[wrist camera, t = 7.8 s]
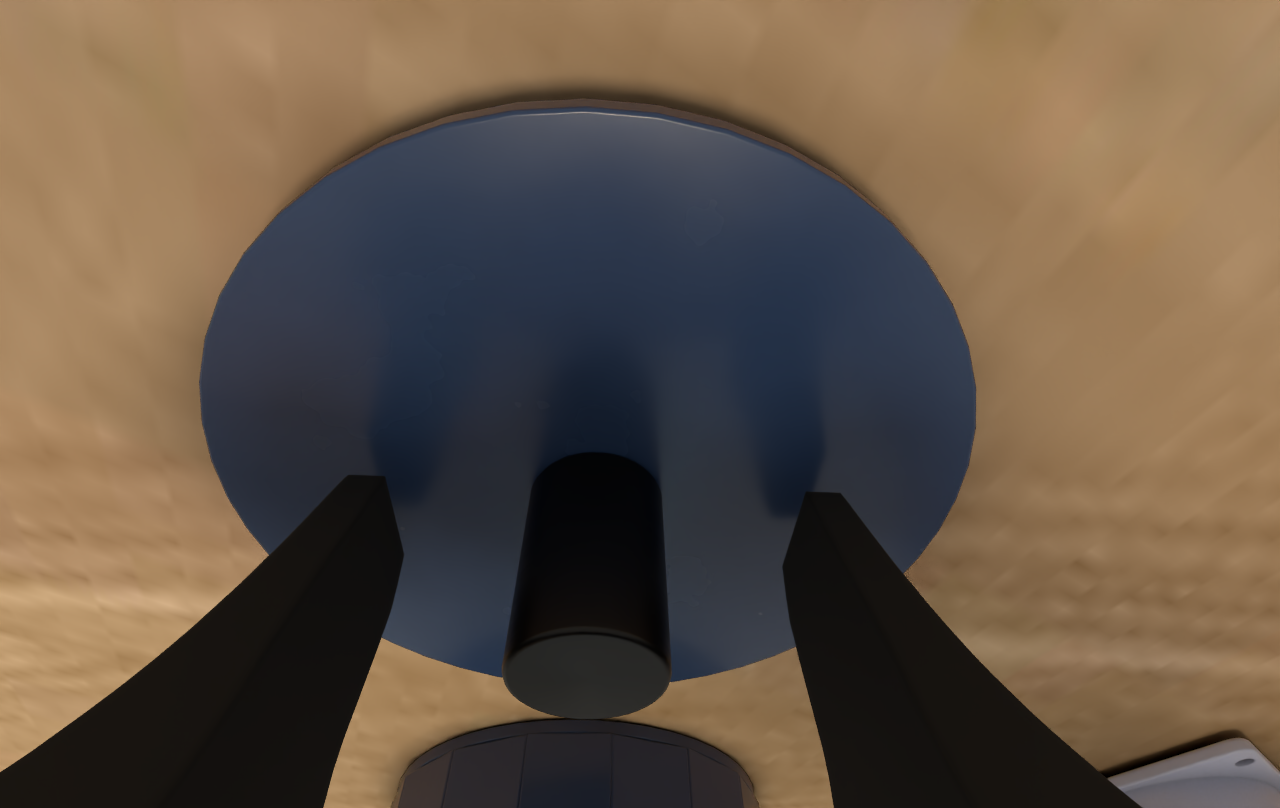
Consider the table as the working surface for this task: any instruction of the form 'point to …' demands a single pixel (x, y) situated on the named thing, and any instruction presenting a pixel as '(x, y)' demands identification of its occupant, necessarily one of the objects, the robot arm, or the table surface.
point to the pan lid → (589, 385)
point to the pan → (574, 770)
